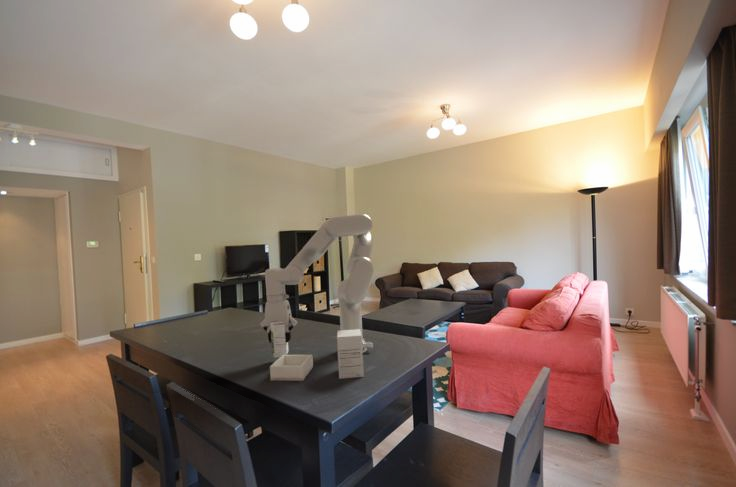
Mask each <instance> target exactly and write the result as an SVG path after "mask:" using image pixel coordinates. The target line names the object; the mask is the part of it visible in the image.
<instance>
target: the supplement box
mask: <svg viewBox="0 0 736 487" xmlns="http://www.w3.org/2000/svg"><path fill="white" fill-rule="evenodd" d="M336 331H337V333H336V344H337V362H338V364H337V365H338V379H339V380H340V379H353V378H363V377H364V376H365V375H364V357H363V353H362V336H361V331H360V329H354V330H341V329H340V330H336Z"/></svg>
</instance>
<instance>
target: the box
mask: <svg viewBox="0 0 736 487" xmlns="http://www.w3.org/2000/svg"><path fill="white" fill-rule="evenodd" d="M313 368H314V360H313V354H287V355H282V356H281V357H278V358H277V359H276V360H275V361H274V362H273V363H272V364H271V365H270V366H269V371H270V372H269V374H270V375H269V376H270V378H269V379H270V381H285V382H286V381H287V382H288V381H290V382H291V381H293V382H294V381H296V382H297V381H299V382H302V381H304V380H305V379H306V377H307V376H308V375H309V374H310V372H311V371H312V369H313Z"/></svg>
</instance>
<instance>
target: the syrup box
mask: <svg viewBox="0 0 736 487" xmlns="http://www.w3.org/2000/svg"><path fill="white" fill-rule="evenodd" d="M270 327H271V343H270V344H271V355H272V358H273V359H274V358H280V357H281V356H282V355H289V350H290V349H289V342H286V336H285V333H286V330H285V326H284V323H283V322H280V321H277V322H271V323H270Z"/></svg>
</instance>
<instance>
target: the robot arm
mask: <svg viewBox="0 0 736 487" xmlns="http://www.w3.org/2000/svg"><path fill="white" fill-rule="evenodd" d="M372 229H373V220H372V218H371V217H370V216H369V215H368V214H364V213H359V214H351V215H341V216H340V215H339V216H333V217H330V218H328V219H326V220H325V221H324V222H323V223H322V224H321V226H320V227H319V228H318V230H316V232H315V233H314V234H313V235H312V236H311V238H310V239H309V240H308V241H307V242H306V244H304V246H303V247H302V249H301V250H300V251H299V252H298V253H297V254H296V255H295V256H294V258H293V259H291V261H290V262H288V263H289V264H288V265H287V266H286V267H285V268H281V267H273V268H268V269H265V272H264V278H265V279H264V280H265V290H266V302H265V307H264V318H263V319H262V321H261V322H260V323H259V325H260V327H261V328H262V329H263V330H264V331H265V332H266V334H267V339H268V342H269V344H272V343H271V327H270V323H271V322H277V321H280V322H283V323H284V326H285V330H286V333H285V336H286V342H288V343H290V341H291V339H292V334H291V333H292V332H291V331H292V330H293V329H294V328H295V326H296V325H297V324H298V321H297V320H296V319H295V318H294V317H292V316H293V315H292V310H291V305H290V302H289V300H287V299H289V297H290V295H289V294H287V293H286V285H287V286H290V285H291V286H294V285H299V284H300V283H302V282H303V280H304V277H305V276H304V275H305V274H304V273H305V272H306V271H307V269H308V268H309V267H310V266H311V265H312V264H313V263H314V262H316V261H317V260H319V259H320V258H321V257H323V256H324V255H325V253H326V252H327V251H328V250H329V249H330V247H331V246H332V245H333V243H334V242H335V241H336V240H337V239H338V238H339V237H340V238H341V237H351V236H352V238H353V245H352V249H351V252H350V255H349V258H348V261H347V264H346V271H347V273H348V274H349V276H348V278H347V279H346V278H345V279H344V280H342V281H340V283H339V284H338V286H337V299H338V306H339V323H340V330H354V329H360V331H361V336H362V354H364V353H366V352H367V350H368V349H367V348H373V347H374V344H373V342H371V341H365V338H363V319H362V317H363V316H362V305H361V304H362V302H364V300H365V299H366V296H367V294H368V291H369V288H370V286H371V285H370V284H371V282H372V279H373V275H374V268H375V267H374V263H373V261H372V260H371V259H370V257H371V253H372V249H373V244H374V241H373V236H372V233H371V231H372ZM290 324H291V325H290Z"/></svg>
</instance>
